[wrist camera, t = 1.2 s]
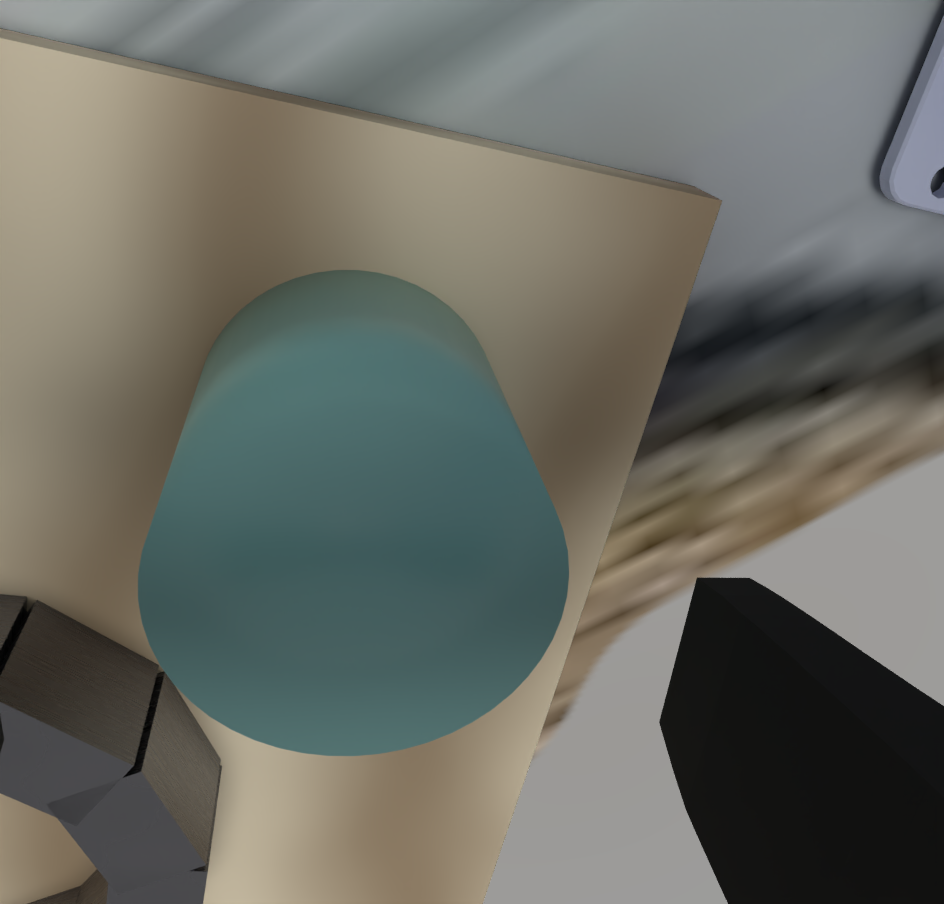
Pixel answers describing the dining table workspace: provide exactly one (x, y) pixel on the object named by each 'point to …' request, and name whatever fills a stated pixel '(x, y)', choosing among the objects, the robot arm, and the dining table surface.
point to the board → (181, 363)
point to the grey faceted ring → (106, 757)
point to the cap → (350, 526)
